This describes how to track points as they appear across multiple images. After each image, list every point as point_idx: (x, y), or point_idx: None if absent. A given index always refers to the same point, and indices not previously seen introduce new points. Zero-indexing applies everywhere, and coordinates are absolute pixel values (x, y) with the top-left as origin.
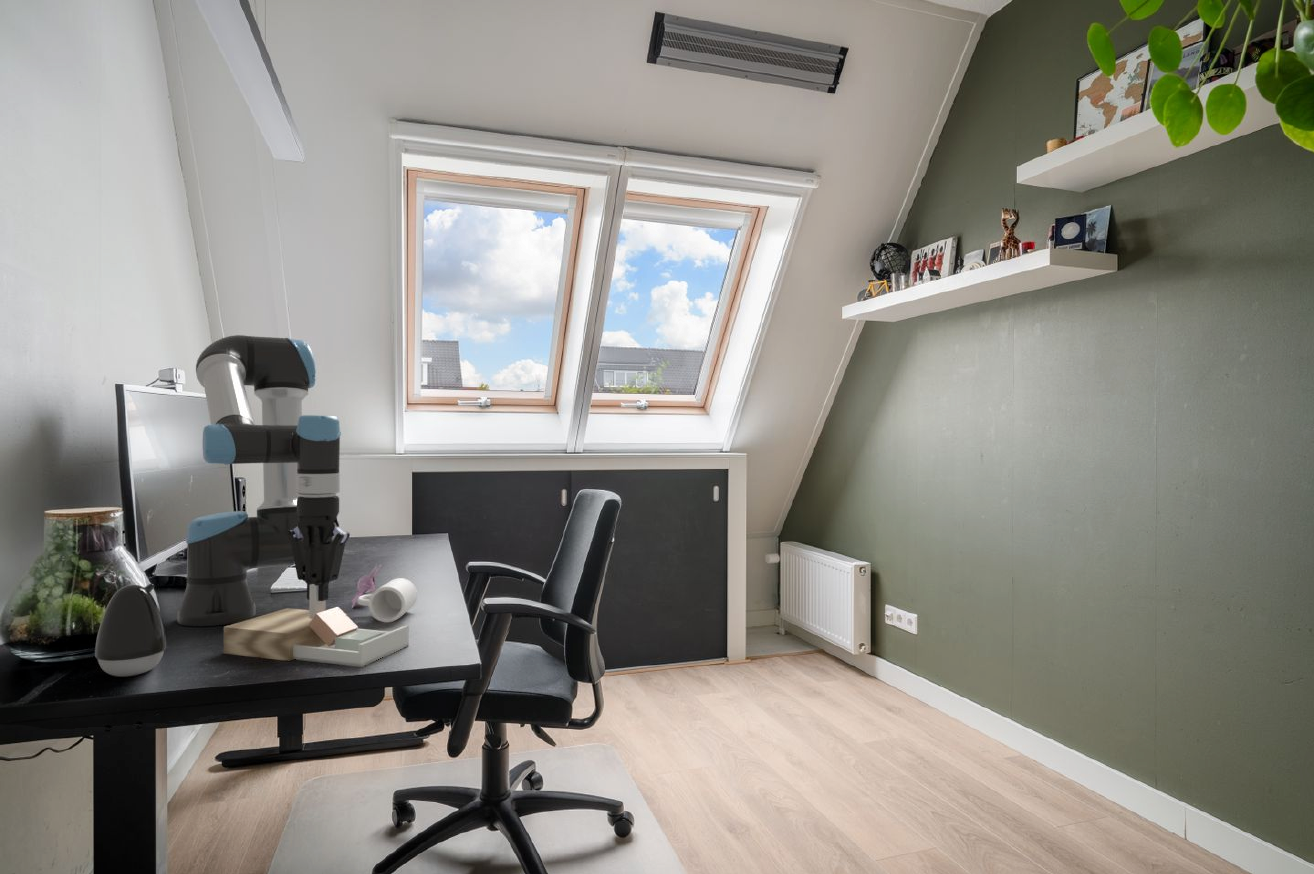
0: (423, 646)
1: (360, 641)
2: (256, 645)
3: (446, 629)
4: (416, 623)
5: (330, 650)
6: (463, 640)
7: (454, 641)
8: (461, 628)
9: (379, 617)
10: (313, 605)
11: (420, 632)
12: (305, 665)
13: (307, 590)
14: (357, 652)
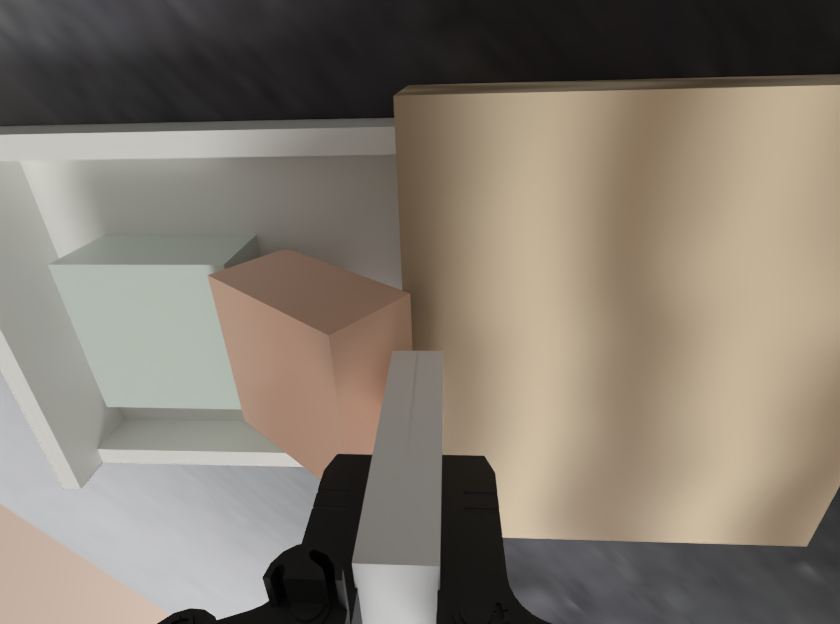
0: None
1: (63, 262)
2: (659, 82)
3: (186, 588)
4: None
5: (136, 130)
6: (26, 516)
7: (40, 502)
8: (154, 603)
9: None
10: (401, 408)
11: (232, 550)
12: (263, 48)
13: (494, 525)
14: None
